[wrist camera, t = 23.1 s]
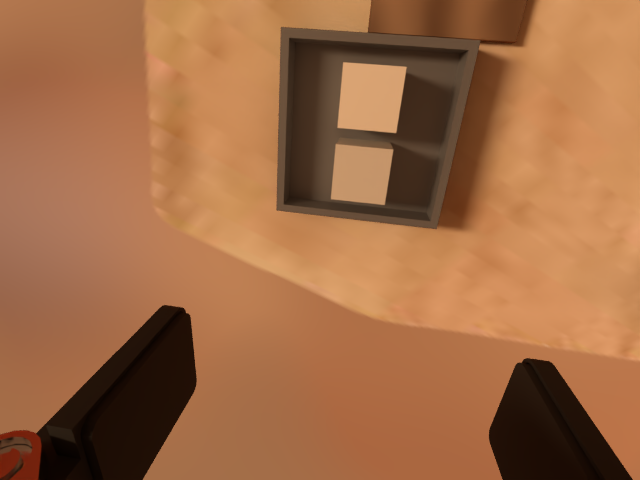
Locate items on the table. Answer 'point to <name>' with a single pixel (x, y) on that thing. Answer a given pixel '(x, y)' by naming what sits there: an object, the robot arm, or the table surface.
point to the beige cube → (361, 170)
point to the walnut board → (449, 18)
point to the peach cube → (371, 97)
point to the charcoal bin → (408, 142)
